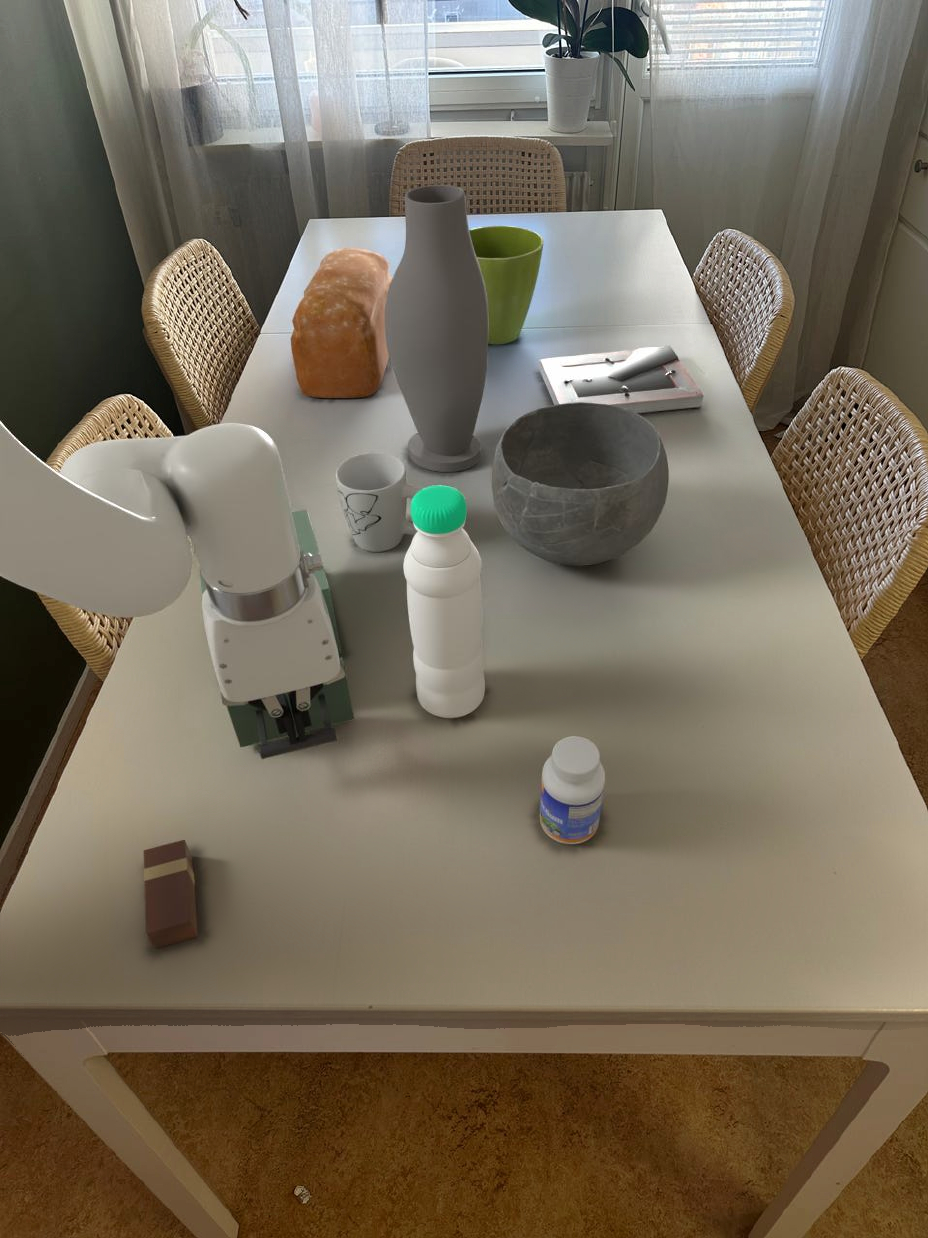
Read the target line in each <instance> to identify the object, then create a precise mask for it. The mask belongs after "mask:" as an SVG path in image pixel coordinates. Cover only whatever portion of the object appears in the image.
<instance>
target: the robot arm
mask: <svg viewBox="0 0 928 1238" xmlns="http://www.w3.org/2000/svg"><path fill="white" fill-rule="evenodd" d="M292 512H293V511H292V506H291V500H290V497H289V491H288V488H287V483H286V478H285V473H284V470H283V464H282V459H281V456H280V452H279V450H278V447H277V445H276V443H275V442H274V440H273V439H272V438H271V436H269V434H267V433H266V432H265V431H263V430H262V429H260V428H258V427H257V426H256V427H255V426H253V425H250V424H246V423H239V422H238V423H237V422H226V423H218V424H212V425H209V426H205V427H202V428H200V429H198V430H195V431H193V432H192V433H189V434H188V435H177V436H165V437H143V438H141V437H139V438H138V437H137V438H117V439H110V440H102V441H97V442H93V443H89V444H86V445H85V446H83V447H80V448H78V449H77V450H76V451H74V452H72V454H70V455H69V456H68V458H66V459H65V461H64V463H63V464H62V465H61V467H60V471H59V472H58V471H56V470H55V469H54V468H52V467H50V466H49V465H48V464H47V463H45V461H43V460H41V459H40V458H39V457H37V455H35V454H34V453H33V452H32V451H30V449H28V448H27V447H26V446H25V445H23V443H21V441H19V439H18V438H16V436H14V434H12V432H11V431H10V430H9V429H8V428H7V427H6V426H5V425H4V423H3V422H2V421H0V577H2V579H5V580H8V581H9V582H11V583H14V584H15V585H18V586H20V587H22V588H25V589H28V590H30V591H33V592H35V593H38V594H41V595H43V596H45V597H48V598H50V599H53V600H56V601H59V602H61V603H64V604H66V605H68V606H71V607H74V608H77V609H80V610H84V611H85V612H86V611H87V612H90V613H94V614H96V615H97V614H98V615H102V616H106V617H107V616H108V617H114V618H124V619H125V618H140V617H146V616H150V615H153V614H156V613H159V612H160V611H162V610H164V609H166V608H168V607H169V606H171V605H172V604H174V603H175V602H176V600H178V599H179V597H181V595H182V594H183V592H184V591H185V589H186V588H187V586H188V584H189V581H190V578H191V575H192V569H193V568H192V567H193V554H192V550H191V549H192V548H193V551H194V554H195V557H196V560H197V563H198V568H199V567H200V568H199V571H200V570H201V573H202V576H203V579H204V583H205V586H206V590H205V592H204V593H202V595H201V612H202V618H203V626H204V631H205V636H206V640H207V645H208V649H209V653H210V658H211V661H212V665H213V669H214V674H215V676H216V680H217V683H218V686H219V689H220V695H221V696H220V697H221V702H222V705H223V706H225V707H227V706H236V705H246V704H247V703H248V704H249V705H251V706H254V707H257V708H260V709H263V710H266V711H268V712H269V714H270V716H271V717H275V720H276V724H277V727H278V731H279V734H282V733H286V732H287V735H288V736H287V739H289V742H290V745H293V744H296V742H298V741H297V737H298V738H299V741H302V742H305V741H307V736H306V735H307V731H305V727H309V726H312V724H311V719H310V715H309V711H308V709H309V707H310V701H311V700H312V699H313V698H314V697H315V695H316V694H317V693H318V692H319V691H320V690H321V689H322V688H323V685H325V684H326V685H328V684H330V683H333V682H335V681H337V680H340V679H342V678H344V677H345V675H346V676H347V673H346V674H345V672H346V669H345V670H344V667H343V663H344V662H343V663H342V662H341V660H340V658H341V657H340V654H338V649H337V645H336V641H335V636H334V632H333V628H332V624H331V620H330V617H329V613H328V609H327V605H326V602H325V599H324V596H323V593H322V591H321V588H320V586H319V584H318V581H317V579H316V577H315V576H314V574H313V573H314V571H318V570H322V569H323V567H324V565H323V566H322V563H323V560H322V557H320V556H321V553H320V552H319V553H320V554H319V553H317V554H312V555H310V553H308V554H304V551H300V548H299V544H298V538H297V534H296V529H295V524H294V520H293V515H292ZM189 539H190V540H189ZM190 543H191V544H190ZM191 545H192V548H191ZM321 560H322V561H321ZM286 692H290V693H288V696H289V701H290V705H291V710H292V713H291V710H290V706H289V702H288V698H287V695H286V694H284V693H286ZM292 715H293V717H292ZM293 719H294V721H293ZM294 723H295V726H294ZM295 727H296V730H297V734H296V731H295Z"/></svg>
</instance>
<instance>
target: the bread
mask: <svg viewBox="0 0 928 1238" xmlns="http://www.w3.org/2000/svg"><path fill="white" fill-rule="evenodd" d="M392 278H393V276H392V275H390V263H389V261H388V260H387V258H386V257H385V256H384V255H383V254H380V253H378V252H374V251H372V250H368V249H365V248H352V247H351V248H349V247H345V248H340V249H336V250H332V251H331V252H329V253H328V254H326V255H325V256H323V258H322V259H321V261H320V263H319V267H318V268H317V270H316V272H314V275H313V277H312V278H311V280H310V282H309V283H308V285H307V286H306V287H305V289H304V291H303V297H302V299H301V300H300V302H299V303H298V306H297V307H296V310H295V312H294V314H293V317H292V320H291V322H292V326H293V331H292V333H291V336H290V349H291V354H292V360H293V366H294V371H295V376H296V381H297V383H298V386H299V389H300V391H301V393H302V395H305V396H308V397H311V398H323V399H354V398H355V399H357V398H365V397H368V396H372V395H375V393H377V392H376V391H378V389H379V387H381V385H382V383H383V379H384V375H385V372H386V369H387V366H388V363H389V361H390V359H389V355H388V351H387V345H386V338H385V305H386V297H387V292H388V289H389V286H390V283H391V281H392Z"/></svg>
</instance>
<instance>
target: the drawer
mask: <svg viewBox="0 0 928 1238" xmlns="http://www.w3.org/2000/svg"><path fill="white" fill-rule="evenodd" d="M339 658H340V660H341V662H342V663H343V667H344V670H345V674H346V675H345V677H344V678H342V679H340V680H337V681H335V682H333V683H330V684H328V685H326V684H325V685H323V688H322V689H321V690H320V691H319V692H318V693H317V694H316V695H315V697H314V698H313V699H312V700H311V701H310V707H309V709H308V711H309V715H310V719H311V724H312V726H309V727H305V732H309V731H313V730H316V729H320V728H325V729H323V730H320V731H315V732H311V733H306V736H307V741H305V742H302V741H299V738H298V736H297V741H298V742H296V744H293V745H290V742H289V739H288V738H287V739H283V740H279V741H275V742H271V743H269V741H272V740H277V739H280V738H284V737H288V735H287V732H286V733H282V734H279V731H278V727H277V724H276V720H275V717H271V716H270V714H269V712H268V711H266V710H263V709H260V708H257V707H254V706H251V705H249V704H248V703H247V704H246V705H236V706H226V708H227V709H226V710H227V712H228V714H229V717H230V721H231V724H232V727H233V730H234V733H235V735H236V738H237V741H238V744H239V747H240V748H244V747H248V746H252V745H257V744H260V745H259V746H258V750H259V755H260V759H262V760H265V759H268V758H273V757H277V756H280V755H285V754H289V753H292V752H293V753H294V752H296V751H297V752H298V751H300V750H305V749H309V748H313V747H316V746H321V745H324V744H328V743H332V742H336V741H338V734H337V731H336V728H335V727H333V725H336V724H341V723H346V722H349V721H353V720H355V715H354V709H353V704H352V700H351V699H352V698H351V694H350V688H349V682H348V677H347V672H346V667H345V663H344V659H343V657H339ZM288 693H290V692H286V693H284V694H286V695H287V698H288V702H289V706H290V710H291V705H290V701H289V696H288ZM291 713H292V710H291ZM292 717H293V715H292ZM293 721H294V719H293ZM294 726H295V723H294ZM295 731H296V735H298V734H297V730H296V727H295Z"/></svg>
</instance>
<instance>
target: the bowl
mask: <svg viewBox="0 0 928 1238" xmlns="http://www.w3.org/2000/svg"><path fill="white" fill-rule="evenodd" d="M490 479H491V480H490V481H491V491H492V492H491V493H492V494H491V495H492V500H493V504H494V505H493V506H494V508H495V511H496V513H497V516H498V518H499V519H498V520H499V521H500V523H501V525H502V526H503V528H504V529H505V531H506V532H507V534H508V535H509V536H510V537H511V538H512V539H513V541H514V542H516V544H518V545H519V546H521V547H522V548H523V549H524V550H526V551H527V552H529V554H532V555H534V556H536V557H538V558H540V559H541V560H542V559H543V560H545V561H547V562H551V563H553V564H556V565H557V564H558V565H561V566H562V565H563V566H576V567H577V566H578V567H581V566H589V565H597V564H601V563H604V562H607V561H610V560H613V559H615V558H618V557H619V556H622V555H623V554H625V553H628V552H629V551H630V550H632V549H634V548H635V547H636V546H638V544H640V543H641V542H642V541H643V540H644V539H645V538H646V537H647V536H648V535H649V534H650V532H652V530H653V528H654V527H655V525H656V524H657V522H658V521H659V519H660V516H661V514H662V513H663V510H664V508H665V504H666V500H667V496H668V491H669V481H670V471H669V462H668V456H667V452H666V449H665V444H664V442H663V439H662V437H661V435H660V433H659V431H658V430H657V428H656V427H655V426H654V425H653V424H652V423H651V422H650V421H649V420H647V419H646V418H645V417H644V416H642V415H641V414H640V413H639V414H637V413H635V412H633V411H631V410H628V409H625V408H622V407H619V406H614V405H608V404H599V403H584V402H576V403H563V404H557V405H554V404H552V405H547V406H544V407H540V408H537V409H533V410H532V411H529V412H527V413H525V414H523V415H521V416H520V417H518V418H517V419H516V420H514V421H513V422H512V423H511V424H509V426H508V427H507V428H506V429H505V431H504V432H503V433H502V436H501V437H500V440H499V442H498V443H497V447H496V450H495V453H494V456H493V461H492V468H491V478H490Z"/></svg>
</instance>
